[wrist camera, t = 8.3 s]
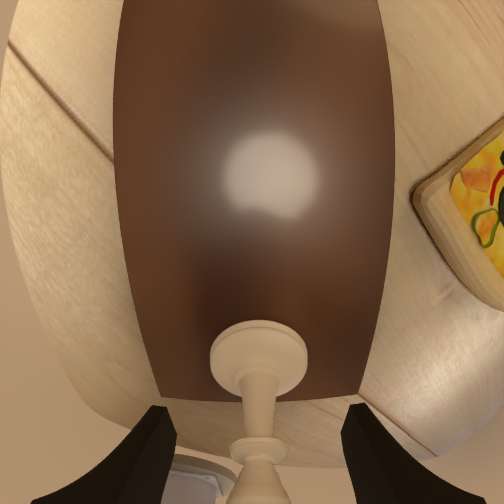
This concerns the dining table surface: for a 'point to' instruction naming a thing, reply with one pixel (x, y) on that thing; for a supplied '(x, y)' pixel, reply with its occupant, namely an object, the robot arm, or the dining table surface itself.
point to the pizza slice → (470, 215)
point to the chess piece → (258, 400)
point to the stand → (254, 181)
